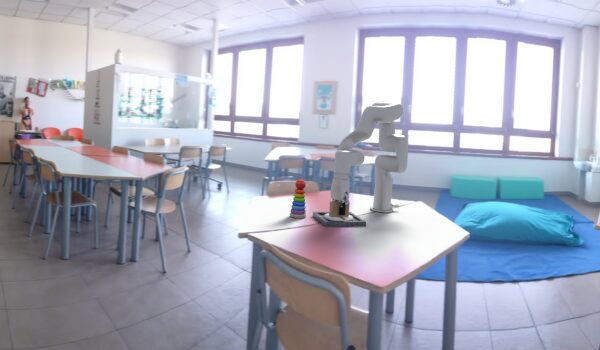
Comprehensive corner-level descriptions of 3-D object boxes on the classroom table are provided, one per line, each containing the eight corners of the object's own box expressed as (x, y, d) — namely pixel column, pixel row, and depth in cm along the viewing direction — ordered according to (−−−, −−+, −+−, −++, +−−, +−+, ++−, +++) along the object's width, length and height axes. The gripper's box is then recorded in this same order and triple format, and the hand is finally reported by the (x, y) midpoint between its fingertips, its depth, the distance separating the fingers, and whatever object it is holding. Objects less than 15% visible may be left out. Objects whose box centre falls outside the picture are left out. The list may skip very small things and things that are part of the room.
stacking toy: (294, 219, 189) (296, 180, 187) (287, 215, 196) (289, 178, 194) (308, 218, 193) (310, 180, 190) (301, 214, 200) (303, 177, 198)
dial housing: (349, 215, 203) (350, 211, 203) (366, 226, 184) (366, 221, 184) (312, 216, 198) (312, 211, 197) (325, 226, 179) (325, 221, 178)
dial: (319, 215, 195) (321, 199, 194) (345, 214, 199) (347, 198, 198) (330, 222, 182) (331, 205, 181) (358, 221, 186) (359, 204, 185)
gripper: (325, 174, 194) (323, 210, 196) (344, 179, 179) (341, 218, 181) (338, 173, 197) (336, 209, 200) (358, 179, 182) (355, 217, 185)
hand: (338, 213), depth 190 cm, fingers open, 4 cm apart
